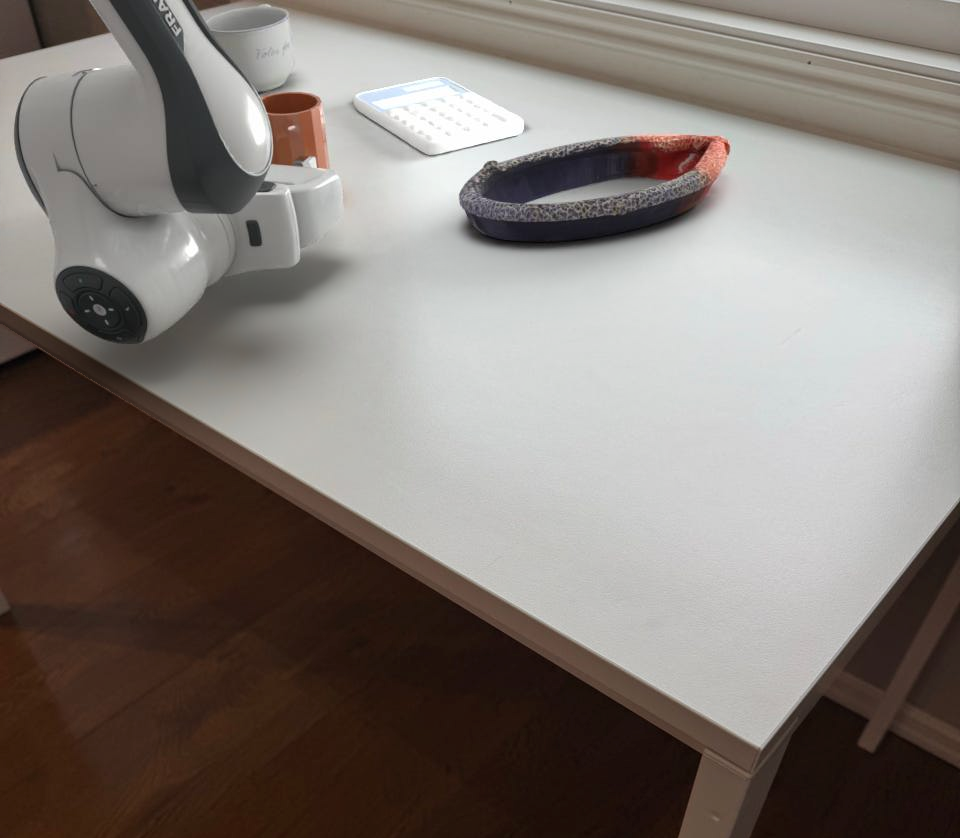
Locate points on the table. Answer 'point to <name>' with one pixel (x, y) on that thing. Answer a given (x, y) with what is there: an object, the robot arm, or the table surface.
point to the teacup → (257, 43)
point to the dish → (512, 183)
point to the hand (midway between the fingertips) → (263, 160)
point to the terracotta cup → (297, 127)
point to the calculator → (438, 115)
